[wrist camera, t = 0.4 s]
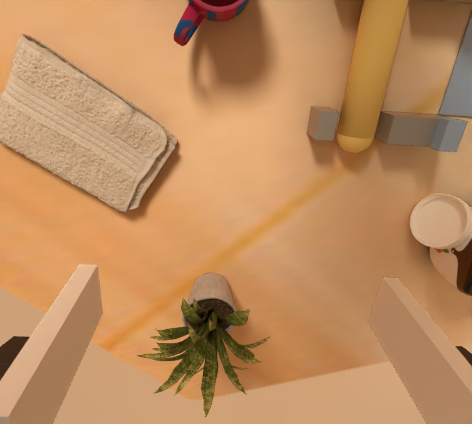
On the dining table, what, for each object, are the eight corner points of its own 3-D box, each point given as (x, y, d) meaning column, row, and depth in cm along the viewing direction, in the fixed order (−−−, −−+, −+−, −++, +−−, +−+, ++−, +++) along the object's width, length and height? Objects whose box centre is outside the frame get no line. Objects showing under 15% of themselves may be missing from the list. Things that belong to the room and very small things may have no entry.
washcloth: (136, 210, 41) (130, 221, 38) (-9, 130, 36) (-28, 136, 33) (184, 133, 37) (181, 139, 34) (30, 32, 32) (12, 29, 29)
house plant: (209, 217, 42) (204, 304, 27) (282, 274, 46) (313, 375, 31) (144, 285, 46) (109, 393, 31) (217, 331, 50) (217, 444, 35)
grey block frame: (336, -50, 30) (357, -70, 26) (561, -26, 32) (617, -40, 27) (306, 133, 37) (319, 144, 33) (490, 145, 39) (525, 156, 35)
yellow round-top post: (370, -65, 30) (391, -82, 26) (411, -61, 30) (437, -77, 27) (328, 146, 38) (340, 155, 35) (360, 148, 39) (375, 157, 35)
